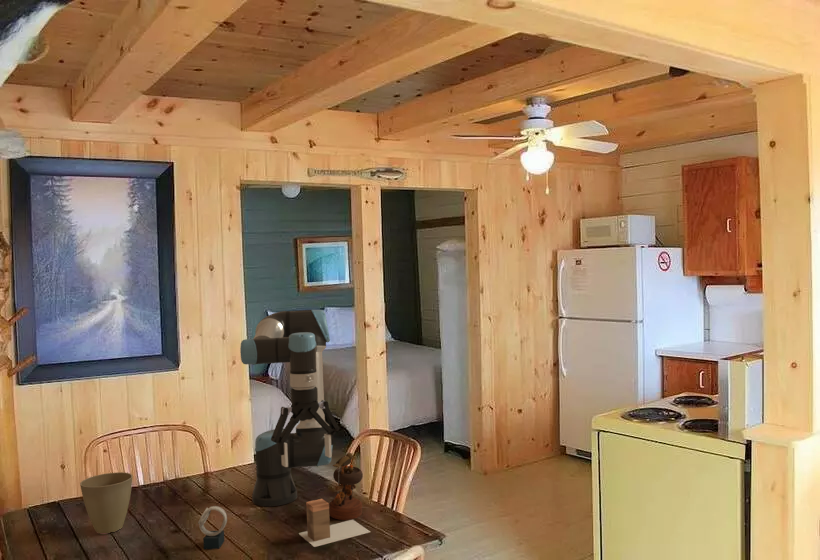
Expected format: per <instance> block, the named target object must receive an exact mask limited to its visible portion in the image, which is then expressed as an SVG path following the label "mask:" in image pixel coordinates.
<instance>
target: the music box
mask: <svg viewBox="0 0 820 560" xmlns="http://www.w3.org/2000/svg"><path fill="white" fill-rule="evenodd" d="M353 459H354V454H353V453H351V452H348V453H346V455H344V456H342V457H340V458H339V459H337V461H336V462H335V464H332V467H336V469H335V470H334V471H333V474H332V475H333V477H332V478H333V480H334V481H335V483H337V485H335V487H334V488H335V490H334V491H337V494H336V496H335V497H334V499H332V500H331V501H330V502H329V517H331V518H333V519H335V520H339V521H340V520H341V521H349V520H355V519H357V518H360V517H361V516H362V514H363V503H362V501H360V499H358V498H355V497H353V491H354V489H356V488H357V486H356V485H357V484H359V483H360V482H361V481H362V479H363V477H364V476H363V470H361V468H359V467H356V466H353V464H351V463H352V462H353ZM340 490H341V491H340ZM339 491H340V492H339Z"/></svg>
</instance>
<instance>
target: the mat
mask: <svg viewBox="0 0 820 560" xmlns="http://www.w3.org/2000/svg"><path fill="white" fill-rule="evenodd" d="M369 533H371V531H370V530H368V529H367V528H366V527H365V526H363V525H362V524H360V523H358V522H357V521H356V520H355V519H351V520H344V521H342V522H338V523H333V524H330V538H326V539H322V540H318V541H313V540H312V539H311V538H310V537H308V532H307V530H306V531H302V532H299V533H298V534H299V536H300V537H302V538H303V539H304V540H305V541H306V542H308V543H309V544H311V546H312V547H314V548H316V547H319V546H320V547H321V546H324V545H327V544H330V543H332V544H333V543H334V542H340V541H343V540H347V539H350V538H353V537H357V536H362V535H364V534H369Z"/></svg>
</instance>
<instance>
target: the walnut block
mask: <svg viewBox="0 0 820 560" xmlns="http://www.w3.org/2000/svg"><path fill="white" fill-rule="evenodd" d="M305 504H306V526H307V528H306V529H307V530H306V531H307V532H308V537H310V538H311V539H312V540H313V541H318V540H322V539H326V538H330V525H331V523H330V522H331V520H330V515H329V504H330V502H327V501H326V500H324V499H323V498H319V499H314V500H310V501H306V502H305Z"/></svg>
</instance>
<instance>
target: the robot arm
mask: <svg viewBox="0 0 820 560" xmlns="http://www.w3.org/2000/svg"><path fill="white" fill-rule="evenodd" d="M327 321H328V320H327V315H326V312H325V311H324V310H322V309H305V310H304V309H301V310H282V311H278V312H274V313H272V314H269V315H267V316H265V317H264V318H262V319H261V320H260V321H259V322H258V323H257V325H256V327H255V331H254V332H255V334H254V337H253V338H249V339H243V340H241V342H240V350H239V351H240V360H241V363H242V364H243V365H253V366H255V365H261V364H262V365H266V364H281V363H282V364H283V363H289V375H290V376H289V377H290V378H289V381H290V383H289V384H290V385H289V386H290V388H291V389H290V402H291V404H290V405H291V406H290V407H288V406H287V407H285V406H281V407H280V415H279V418H278V420H277V423H276V425H275V427H274V429H270V430H267V431H264V432H262V433H259V434H258V435H257V436H256V438H255V440H254V441H255V447H254V451H255V465H256V467H255V471H256V472H255V473H256V481H255V483H254V487H253V490H252V494H251V495H252V496H251V498H252V501H251V503H253V504H254V505H256V506H259V507H276V506H277V507H278V506H283V505H286V504H290V503H292V502H294V501H296V499H298V490H297V487H296V484H295V481H294V479H293V477H292V469H294V468H308V467H309V468H311V467H317V468H318V467H320V466H327V465H329V464H331V462H332V458H333V456H332V455H333V446H334V444H335V442H334V441H335V440H334V437H335V436H334V435H336V432H339V431H340V427H339V425H338V423H337V421H336V419H335V417H334V415H333V414H332V412H331V409H330V408H329V402H328V401H326V400H325V395H324V389H325V388H324V368H323V366H324V365H323V352H324V351H325V349H326V348H327V343H329V342H331V339H330V332H329V327H328V322H327ZM290 413H292V415H291V417H290V418H289V421H288V422H287V419H288V417H289V416H290ZM326 419H327V421H326ZM286 422H287V424H286ZM295 426H296V427H295ZM294 428H295V432H292V431H294Z"/></svg>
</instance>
